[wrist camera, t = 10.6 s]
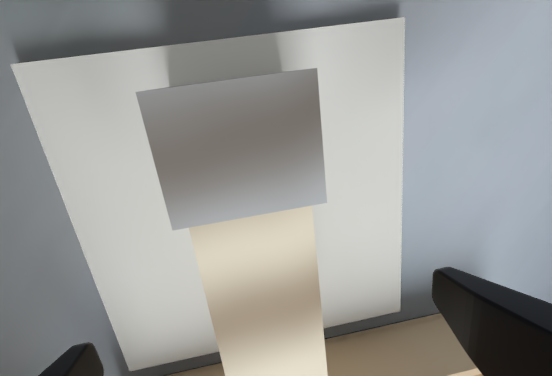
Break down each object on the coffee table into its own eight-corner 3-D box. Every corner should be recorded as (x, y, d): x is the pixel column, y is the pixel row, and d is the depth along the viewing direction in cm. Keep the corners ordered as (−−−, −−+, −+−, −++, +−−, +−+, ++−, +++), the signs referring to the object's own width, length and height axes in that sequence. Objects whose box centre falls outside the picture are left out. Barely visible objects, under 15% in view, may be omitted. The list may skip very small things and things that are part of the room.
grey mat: (132, 362, 18) (129, 371, 17) (19, 65, 13) (10, 64, 12) (395, 304, 20) (400, 311, 19) (398, 19, 14) (405, 17, 14)
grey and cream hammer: (308, 311, 18) (341, 401, 13) (225, 329, 18) (226, 430, 12) (282, 71, 14) (317, 67, 9) (169, 86, 13) (135, 91, 8)
